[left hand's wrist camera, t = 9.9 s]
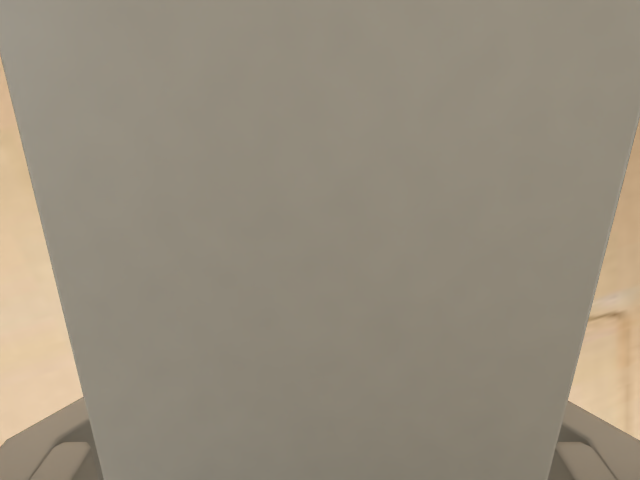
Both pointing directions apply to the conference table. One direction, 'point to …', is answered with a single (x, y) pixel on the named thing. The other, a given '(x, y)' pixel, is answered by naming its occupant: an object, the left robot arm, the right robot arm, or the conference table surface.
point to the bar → (325, 224)
